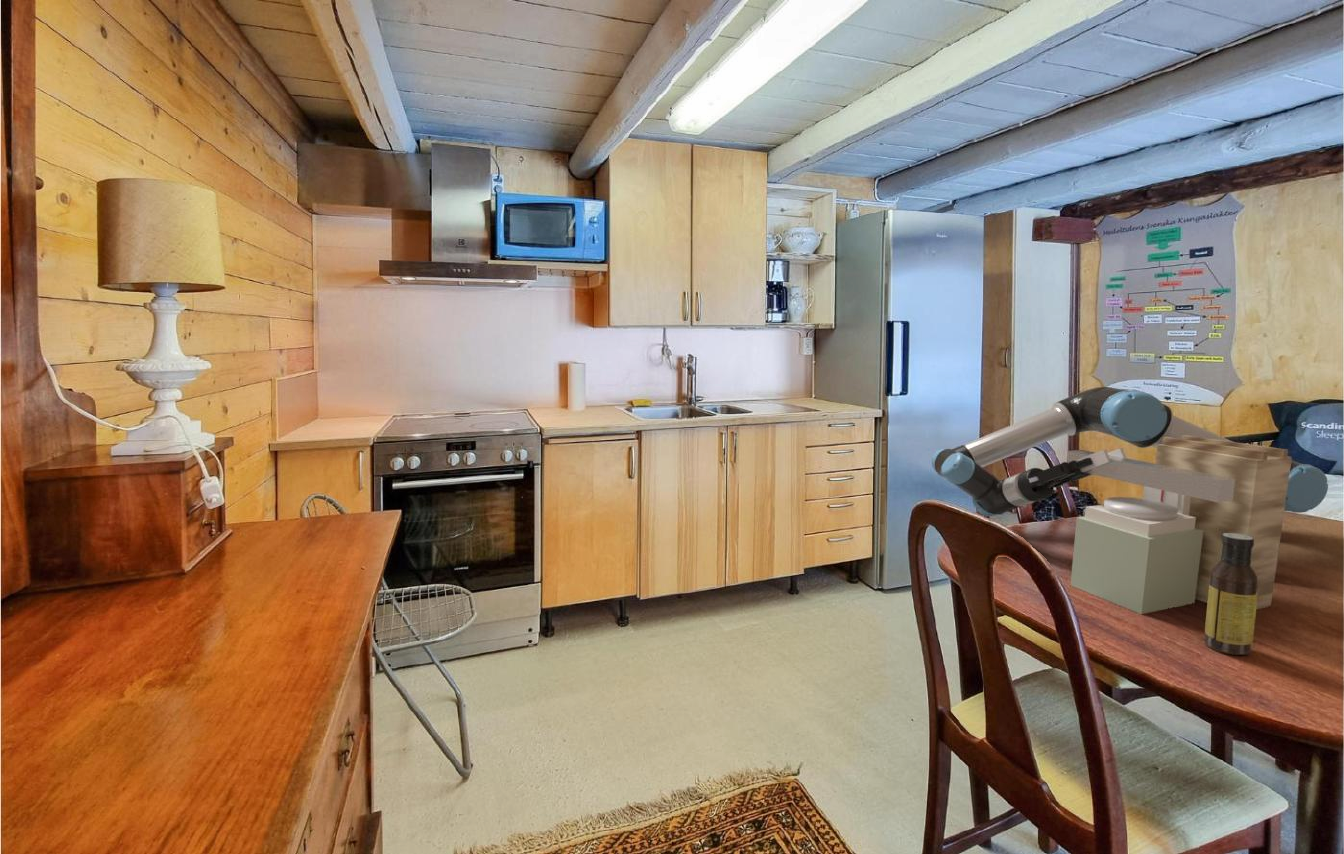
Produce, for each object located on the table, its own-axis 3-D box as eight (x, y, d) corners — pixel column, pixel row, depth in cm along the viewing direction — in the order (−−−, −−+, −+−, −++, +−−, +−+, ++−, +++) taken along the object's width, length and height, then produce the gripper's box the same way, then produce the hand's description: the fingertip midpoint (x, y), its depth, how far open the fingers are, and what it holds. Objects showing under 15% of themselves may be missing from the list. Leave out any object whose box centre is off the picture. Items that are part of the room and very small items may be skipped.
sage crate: (1070, 585, 138) (1076, 517, 135) (1120, 576, 142) (1127, 510, 140) (1141, 614, 123) (1149, 539, 121) (1194, 603, 128) (1203, 530, 126)
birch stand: (1142, 579, 140) (1158, 437, 136) (1174, 574, 144) (1190, 434, 139) (1237, 613, 123) (1258, 452, 119) (1270, 606, 127) (1293, 449, 122)
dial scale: (1084, 518, 135) (1089, 471, 133) (1135, 511, 140) (1140, 466, 138) (1147, 536, 123) (1153, 485, 121) (1201, 528, 127) (1207, 479, 126)
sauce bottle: (1260, 654, 108) (1276, 540, 105) (1231, 659, 107) (1247, 543, 104) (1220, 637, 114) (1234, 529, 111) (1192, 641, 113) (1206, 531, 110)
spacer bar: (1066, 468, 143) (1067, 450, 142) (1079, 467, 144) (1081, 449, 143) (1217, 502, 115) (1220, 480, 114) (1232, 500, 116) (1235, 478, 115)
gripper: (1060, 499, 156) (1151, 469, 136) (1006, 505, 151) (1092, 475, 130) (1049, 469, 159) (1137, 435, 138) (995, 474, 153) (1078, 440, 133)
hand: (1115, 455), depth 134 cm, fingers closed on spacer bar, 4 cm apart
